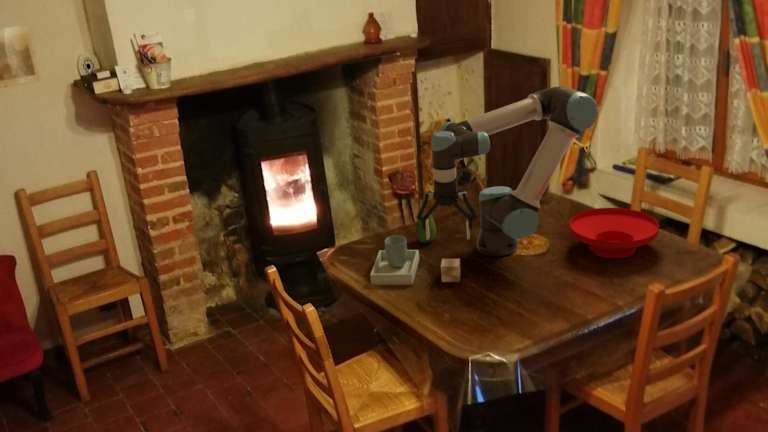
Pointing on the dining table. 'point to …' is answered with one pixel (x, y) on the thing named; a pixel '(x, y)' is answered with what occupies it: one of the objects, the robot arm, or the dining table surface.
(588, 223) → the bowl
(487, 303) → the dining table surface
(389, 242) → the cup
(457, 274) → the beech block
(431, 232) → the avocado
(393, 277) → the tray
